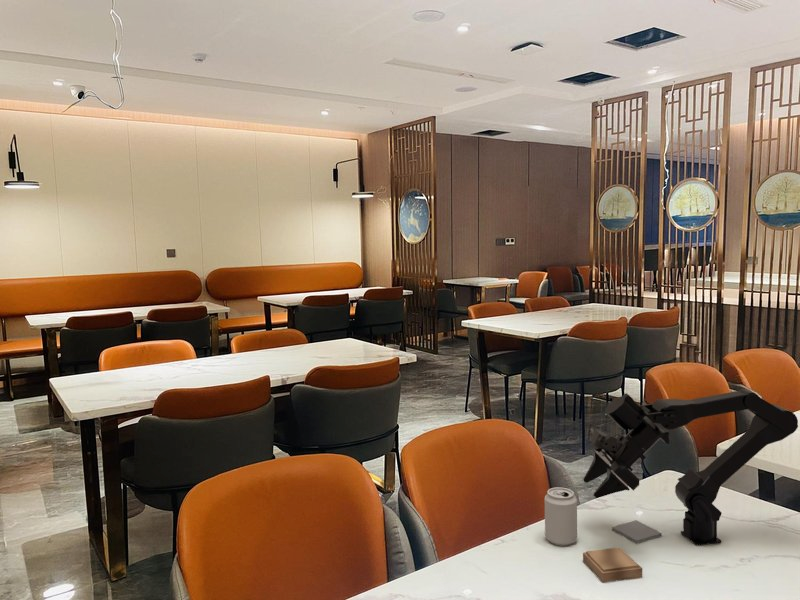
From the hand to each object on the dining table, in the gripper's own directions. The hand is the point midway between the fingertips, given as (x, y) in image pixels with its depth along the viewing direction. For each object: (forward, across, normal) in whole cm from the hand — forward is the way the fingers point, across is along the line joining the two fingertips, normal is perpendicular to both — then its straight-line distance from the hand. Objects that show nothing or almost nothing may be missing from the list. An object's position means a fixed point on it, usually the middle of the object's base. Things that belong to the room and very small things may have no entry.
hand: (589, 488), depth 146 cm
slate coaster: (0, -3, +17) cm, 18 cm away
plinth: (+8, +14, +10) cm, 19 cm away
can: (+14, 0, +4) cm, 15 cm away
